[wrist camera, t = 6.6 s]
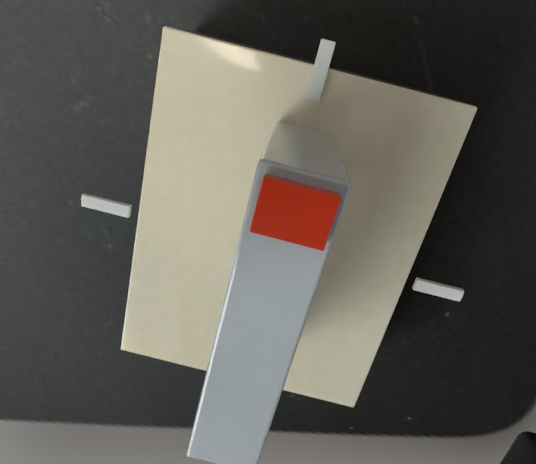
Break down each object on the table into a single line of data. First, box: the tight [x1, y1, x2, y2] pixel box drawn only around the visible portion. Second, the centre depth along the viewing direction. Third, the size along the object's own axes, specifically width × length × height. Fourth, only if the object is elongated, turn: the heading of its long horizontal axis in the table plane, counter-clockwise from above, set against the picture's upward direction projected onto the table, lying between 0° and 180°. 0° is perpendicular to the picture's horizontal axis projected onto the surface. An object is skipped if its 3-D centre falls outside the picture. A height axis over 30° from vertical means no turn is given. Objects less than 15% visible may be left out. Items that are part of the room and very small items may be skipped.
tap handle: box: [187, 121, 351, 464], centre depth 11 cm, size 7×2×5 cm, turn 166°
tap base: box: [81, 26, 477, 407], centre depth 14 cm, size 11×11×3 cm
